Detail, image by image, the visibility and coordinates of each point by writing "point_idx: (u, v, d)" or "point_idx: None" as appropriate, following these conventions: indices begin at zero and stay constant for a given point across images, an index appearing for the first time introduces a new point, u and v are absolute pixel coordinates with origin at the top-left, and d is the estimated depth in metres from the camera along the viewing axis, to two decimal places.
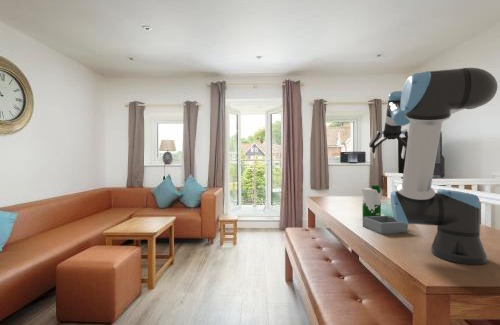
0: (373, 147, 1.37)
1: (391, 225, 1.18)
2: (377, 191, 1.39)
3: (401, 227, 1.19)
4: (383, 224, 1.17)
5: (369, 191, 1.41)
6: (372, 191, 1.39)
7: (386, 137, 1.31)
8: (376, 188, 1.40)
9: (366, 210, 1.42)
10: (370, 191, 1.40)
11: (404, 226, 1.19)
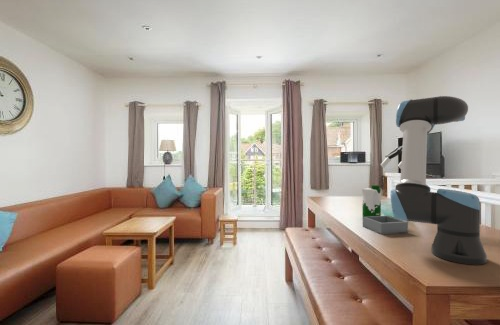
0: (386, 156, 1.54)
1: (391, 225, 1.18)
2: (377, 191, 1.39)
3: (401, 227, 1.19)
4: (383, 224, 1.17)
5: (369, 191, 1.41)
6: (372, 191, 1.39)
7: (399, 147, 1.49)
8: (376, 188, 1.40)
9: (366, 210, 1.42)
10: (370, 191, 1.40)
11: (404, 226, 1.19)
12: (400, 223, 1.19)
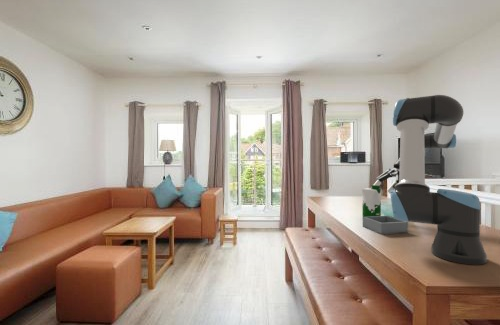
0: (377, 178, 1.54)
1: (391, 225, 1.18)
2: (377, 191, 1.39)
3: (401, 227, 1.19)
4: (383, 224, 1.17)
5: (369, 191, 1.41)
6: (372, 191, 1.39)
7: (390, 171, 1.49)
8: (376, 188, 1.40)
9: (366, 210, 1.42)
10: (370, 191, 1.40)
11: (404, 226, 1.19)
12: (400, 223, 1.19)
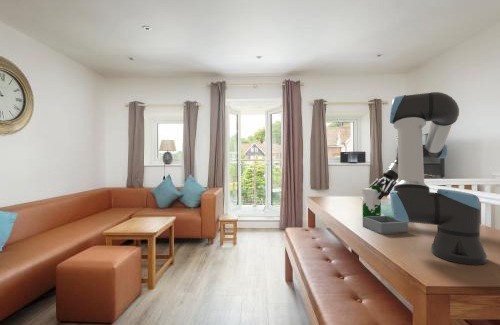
0: None
1: (391, 225, 1.18)
2: (377, 191, 1.39)
3: (401, 227, 1.19)
4: (383, 224, 1.17)
5: (369, 191, 1.40)
6: (372, 191, 1.39)
7: (379, 180, 1.47)
8: (376, 188, 1.40)
9: (366, 210, 1.42)
10: (370, 191, 1.40)
11: (404, 226, 1.19)
12: (400, 223, 1.19)
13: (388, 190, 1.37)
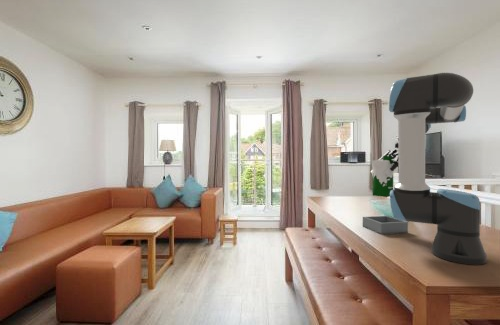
0: None
1: (391, 225, 1.18)
2: (389, 162, 1.24)
3: (401, 227, 1.19)
4: (383, 224, 1.17)
5: (380, 162, 1.25)
6: (384, 162, 1.24)
7: (391, 151, 1.32)
8: (388, 158, 1.25)
9: (377, 183, 1.26)
10: (381, 162, 1.25)
11: (404, 226, 1.19)
12: (400, 223, 1.19)
13: None
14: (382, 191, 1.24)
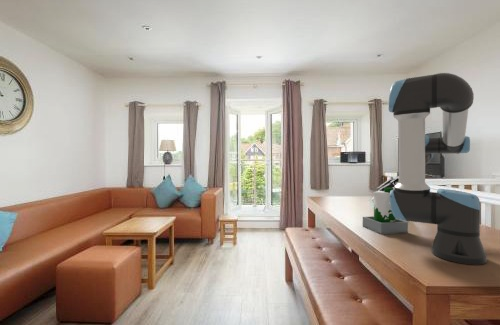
0: (378, 189, 1.33)
1: (391, 225, 1.18)
2: None
3: (401, 227, 1.19)
4: (383, 224, 1.17)
5: (382, 194, 1.22)
6: (385, 194, 1.21)
7: (393, 180, 1.29)
8: None
9: (378, 216, 1.23)
10: (383, 194, 1.21)
11: (404, 226, 1.19)
12: (400, 223, 1.19)
13: None
14: None
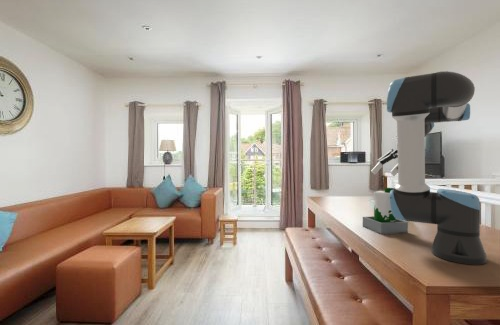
0: (378, 161, 1.33)
1: (391, 225, 1.18)
2: None
3: (401, 227, 1.19)
4: (383, 224, 1.17)
5: (382, 195, 1.22)
6: (386, 195, 1.20)
7: (393, 151, 1.29)
8: None
9: (379, 216, 1.23)
10: (383, 195, 1.21)
11: (404, 226, 1.19)
12: (400, 223, 1.19)
13: None
14: None
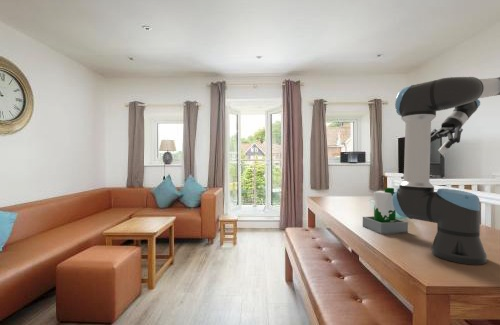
0: None
1: (391, 225, 1.18)
2: (392, 195, 1.20)
3: (401, 227, 1.19)
4: (383, 224, 1.17)
5: (382, 195, 1.22)
6: (386, 195, 1.20)
7: (437, 131, 1.26)
8: (390, 191, 1.21)
9: (379, 216, 1.23)
10: (383, 195, 1.21)
11: (404, 226, 1.19)
12: (400, 223, 1.19)
13: (458, 136, 1.14)
14: None
